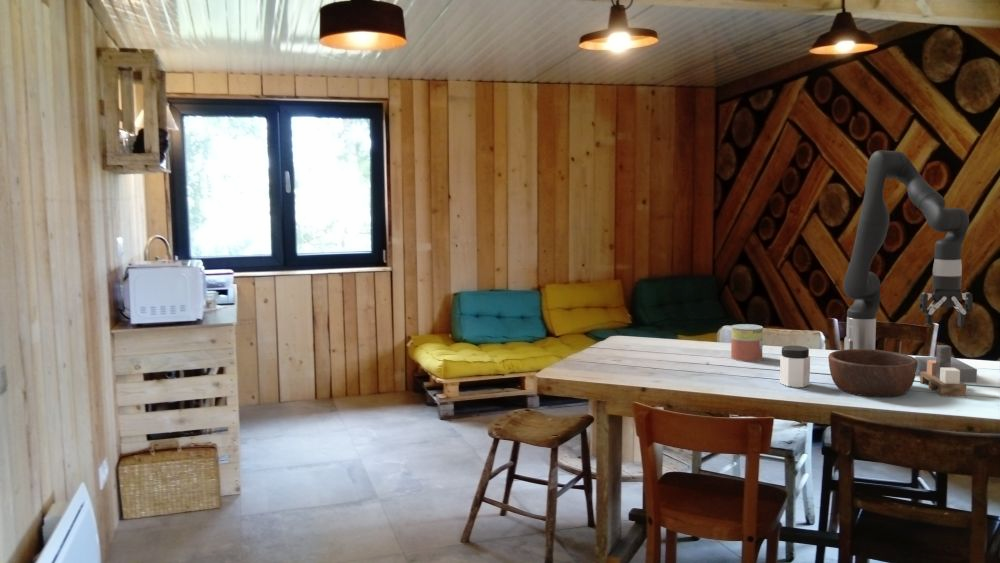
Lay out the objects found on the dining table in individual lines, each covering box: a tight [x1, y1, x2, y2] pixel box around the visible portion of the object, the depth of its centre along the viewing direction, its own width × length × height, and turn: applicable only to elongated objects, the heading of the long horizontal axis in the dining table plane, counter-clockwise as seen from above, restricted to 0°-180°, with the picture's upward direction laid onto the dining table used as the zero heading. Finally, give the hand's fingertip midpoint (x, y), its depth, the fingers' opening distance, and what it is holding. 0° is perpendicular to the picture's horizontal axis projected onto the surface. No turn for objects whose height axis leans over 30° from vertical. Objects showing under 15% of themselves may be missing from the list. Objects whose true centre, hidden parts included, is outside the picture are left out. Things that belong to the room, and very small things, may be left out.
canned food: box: [730, 323, 764, 363], centre depth 282 cm, size 11×11×12 cm
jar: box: [779, 345, 811, 388], centre depth 243 cm, size 9×8×12 cm
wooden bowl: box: [828, 349, 918, 398], centre depth 236 cm, size 25×25×10 cm
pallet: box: [919, 344, 967, 397], centre depth 233 cm, size 7×16×14 cm, turn 171°
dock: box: [914, 356, 978, 383], centre depth 251 cm, size 12×18×4 cm, turn 171°
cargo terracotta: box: [927, 360, 936, 375], centre depth 238 cm, size 4×4×4 cm
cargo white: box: [940, 367, 960, 384], centre depth 228 cm, size 4×4×4 cm
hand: (945, 326), depth 231 cm, fingers open, 8 cm apart
